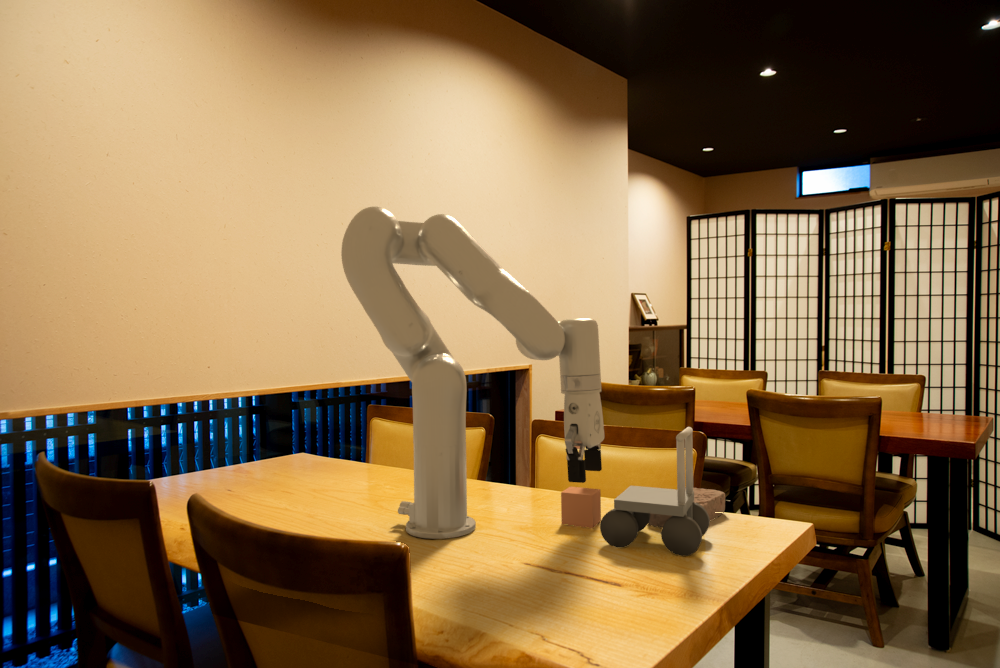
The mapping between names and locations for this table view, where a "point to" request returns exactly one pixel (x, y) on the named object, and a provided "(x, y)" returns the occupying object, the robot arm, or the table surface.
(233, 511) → the table surface
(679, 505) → the trolley
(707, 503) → the brick
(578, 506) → the block
